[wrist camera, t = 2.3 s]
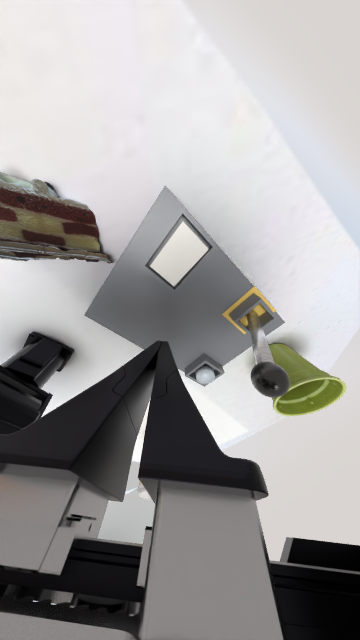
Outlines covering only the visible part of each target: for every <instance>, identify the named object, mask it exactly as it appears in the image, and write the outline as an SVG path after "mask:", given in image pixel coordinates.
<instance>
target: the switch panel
mask: <svg viewBox="0 0 360 640" xmlns="http://www.w3.org/2000/svg"><path fill="white" fill-rule="evenodd" d="M183 220H184V222H185V223H186V224H187V225H188V226H189V227H190V228H191V229H192V230H193V231H194V233H195V234H196V235H197V236H198V237H199V238H200V239H201V240H202V241H203V242H204V243H205V245H206V246H207V247H208V249H209V250H208V251H207V252H206V253H205V254H204V255H203V256H202V257H201V258H200V259H199V260H198V261H197V262H196V263H195V265H194V266H193V267H192V268H191V269H190V270H189V271H188V272H187V273H186V274H185V275H184V276H183V277H182V278H181V279H180V280H179V282H178V283H177V284H176V285H175V286H173V285H172V284H170V283H169V282H168V281H167V280H166V279H165V278H163V277H162V276H161V275H160V274H159V273H157V272H156V271H155V270H154V269H153V268H151V267H150V265H151V264H152V262H153V261H154V260H155V258H156V257H157V256H158V254H159V253H160V252H161V250H162V249H163V248H164V246H165V245H166V243H167V242H168V241H169V239H170V238H171V237H172V235H173V234H174V233H175V231H176V230H177V228H178V227H179V226H180V224H181V223H182V222H183ZM251 311H255V312H257V313H258V315H259V318H260V321H261V324H262V327H263V330H264V333H265V336H266V335H268V334H269V333H271V332H272V331H273V330H275V329H276V328H278V327H279V326H281V325H282V324H283V323H285V322H284V321H283V320H282V318H281V317H280V316H279V315H278V314H277V313H276V312H275V311H276V310H275V309H274V308H273V307H272V305H271V304H270V303H269V302H268V301H267V300H266V299H265V297H264V296H263V295H262V294H261V293H260V292H259V291H258V289H257V288H256V287H255V286H253V285H252V284H251V283H250V282H249V281H248V279H247V278H246V277H245V276H244V275H243V274H242V273H241V271H240V270H239V269H238V268H237V267H236V266H235V265H234V263H233V262H232V261H231V260H230V259H229V258H228V257H227V255H226V254H225V253H224V252H223V251H222V250H221V249H220V247H219V246H218V245H217V244H216V243H215V242H214V241H213V239H212V238H211V237H210V236H209V235H208V234H207V233H206V231H205V230H204V229H203V228H202V227H201V226H200V225H199V223H198V222H197V221H196V220H195V219H194V218H193V217H192V215H191V214H190V213H189V212H188V211H187V210H186V209H185V207H184V206H183V205H182V204H181V203H180V202H179V201H178V199H177V198H176V197H175V196H174V195H173V194H172V192H171V191H170V190H169V189H168V188H167V187H166V186H165V187H164V188H163V190H162V192H161V193H160V195H159V196H158V198H157V199H156V201H155V203H154V204H153V206H152V207H151V209H150V211H149V212H148V214H147V215H146V217H145V219H144V220H143V222H142V223H141V225H140V227H139V228H138V230H137V231H136V233H135V235H134V236H133V238H132V239H131V241H130V243H129V244H128V246H127V247H126V249H125V251H124V252H123V254H122V255H121V257H120V259H119V260H118V262H117V263H116V265H115V267H114V268H113V270H112V271H111V273H110V275H109V276H108V278H107V279H106V281H105V283H104V284H103V286H102V287H101V289H100V291H99V292H98V294H97V295H96V297H95V299H94V300H93V302H92V303H91V305H90V307H89V308H88V310H87V311H86V313H85V316H87V317H88V318H90V319H92V320H94V321H95V322H97V323H99V324H101V325H102V326H104V327H106V328H108V329H110V330H111V331H113V332H115V333H117V334H118V335H120V336H122V337H124V338H125V339H127V340H129V341H131V342H132V343H134V344H136V345H138V346H139V347H141V348H143V349H146V348H148V347H149V346H150V345H152V344H153V343H154V342H156V341H162V342H163V341H168V343H169V346H170V348H171V351H172V354H173V357H174V360H175V363H176V366H177V368H178V369H180V370H182V371H183V372H185V376H186V377H188V378H190V379H192V380H194V381H195V382H197V383H199V382H198V381H197V379H196V373H195V372H196V370H197V369H198V368H199V367H201V366H210V367H212V368H213V371H214V374H215V379H216V378H218V377H219V376H221V375H222V374H224V370H223V367H222V366H224V365H225V364H227V363H228V362H229V361H231V360H232V359H234V358H235V357H236V356H238V355H239V354H241V353H242V352H244V351H245V350H246V349H248V348H249V347H251V346H252V341H251V337H250V332H249V327H248V322H247V317H246V315H247V314H248V313H249V312H251ZM215 379H214V380H215ZM199 384H201V383H199ZM208 384H209V383H208ZM201 385H202V386H204V387H205V386H206V385H207V384H201Z"/></svg>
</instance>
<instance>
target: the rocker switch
mask: <svg viewBox="0 0 360 640" xmlns="http://www.w3.org/2000/svg"><path fill="white" fill-rule="evenodd" d="M208 250H209V249H208V247H207V246H206V245H205V243H204V242H203V241H202V240H201V239H200V238H199V237H198V236H197V235H196V234H195V233H194V231H193V230H192V229H191V228H190V227H189V226H188V225H187V224H186V223H185V222H184V220H183V222H182V223H181V224H180V226H179V227H178V228H177V230H176V231H175V233H174V234H173V235H172V237H171V238H170V239H169V241H168V242H167V243H166V245H165V246H164V248H163V249H162V250H161V252H160V253H159V254H158V256H157V257H156V258H155V260H154V261H153V262H152V264H151V265H150V267H151V268H153V269H154V270H155V271H156V272H157V273H159V274H160V275H161V276H162V277H163V278H165V279H166V280H167V281H168V282H169V283H170V284H172V285H173V286H175V285H176V284H177V283H178V282H179V280H180V279H181V278H182V277H183V276H184V275H185V274H186V273H187V272H188V271H189V270H190V269H191V268H192V267H193V266H194V265H195V263H196V262H197V261H198V260H199V259H200V258H201V257H202V256H203V255H204V254H205V253H206V252H207V251H208Z"/></svg>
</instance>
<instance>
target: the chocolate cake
mask: <svg viewBox="0 0 360 640" xmlns="http://www.w3.org/2000/svg"><path fill="white" fill-rule="evenodd" d="M97 239H98V232H97V227H96V224H95V216H94V214H93V212H92V211H91V210H90V209H89V208H88V207H87V206H86V205H83V204H81V203H77V202H75V201H72V200H70V199H67V198H58V196H57V194H56V193H55V192H54V189H53V187H52V186H51V185H50V184H49V183H47V182H43V181H41V180H39V179H33V180H32V183H30V182H27V181H25V180H22V179H19V178H15V177H13V176H10V175H7V174H4V173H1V172H0V258H1V259H11V260H16V261H28V260H30V259H34V260H39V259H52V260H53V259H56V258H57V257H58V258H60V259H63V260H70V259H74V258H76V259H78V260H86V261H87V262H98V261H99V260H103V261H106V262H107V263H112V262H111V261H110V260H109V258H108V255H106V254H102V253H100V244H99V242H98V240H97Z"/></svg>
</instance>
